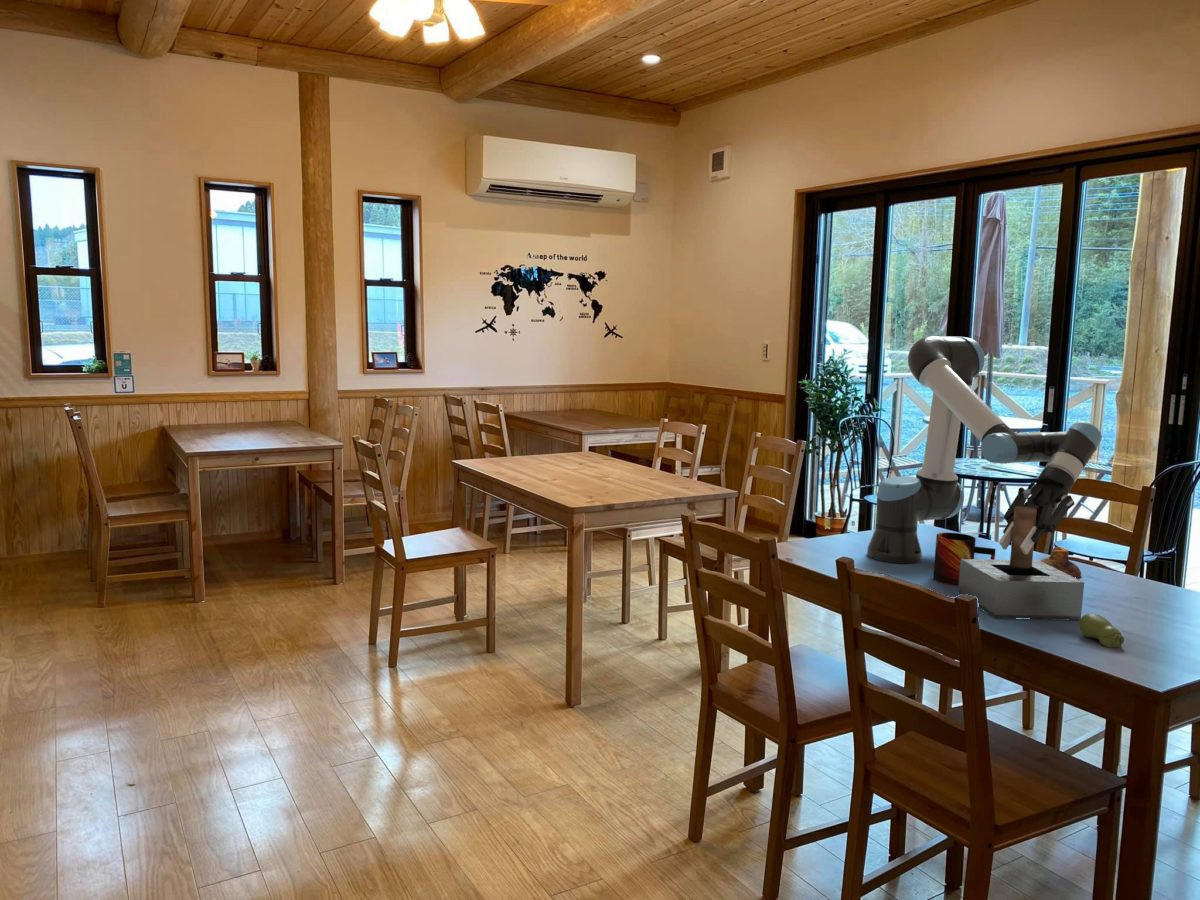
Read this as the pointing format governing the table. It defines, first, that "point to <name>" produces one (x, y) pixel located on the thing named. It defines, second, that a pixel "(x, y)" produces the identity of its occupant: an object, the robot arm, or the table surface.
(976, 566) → the box
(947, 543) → the mug
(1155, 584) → the table surface
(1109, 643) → the pear
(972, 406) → the robot arm
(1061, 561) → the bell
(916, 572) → the table surface
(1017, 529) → the peg
